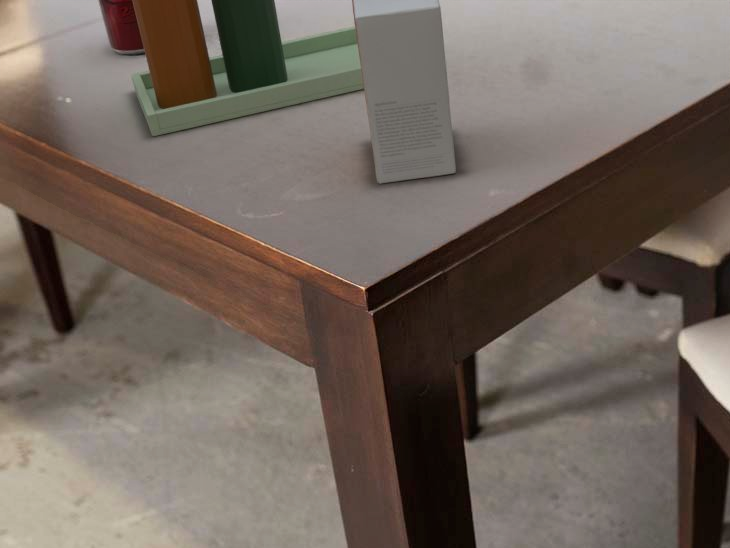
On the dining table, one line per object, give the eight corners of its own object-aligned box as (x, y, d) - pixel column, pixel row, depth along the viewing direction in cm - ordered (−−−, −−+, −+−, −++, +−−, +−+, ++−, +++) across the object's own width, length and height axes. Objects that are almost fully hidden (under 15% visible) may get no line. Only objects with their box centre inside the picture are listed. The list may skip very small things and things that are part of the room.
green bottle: (236, 104, 104) (203, -63, 95) (225, 86, 108) (193, -75, 100) (294, 91, 105) (266, -75, 96) (280, 73, 109) (253, -87, 101)
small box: (371, 144, 92) (350, -15, 85) (446, 134, 92) (432, -26, 85) (375, 185, 85) (353, 16, 78) (457, 174, 85) (442, 4, 78)
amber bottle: (163, 120, 103) (122, -48, 94) (155, 101, 107) (116, -60, 98) (222, 107, 104) (187, -60, 95) (211, 89, 108) (177, -72, 100)
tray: (152, 136, 99) (147, 115, 98) (135, 93, 110) (131, 74, 108) (420, 76, 104) (418, 55, 103) (380, 40, 114) (378, 21, 113)
